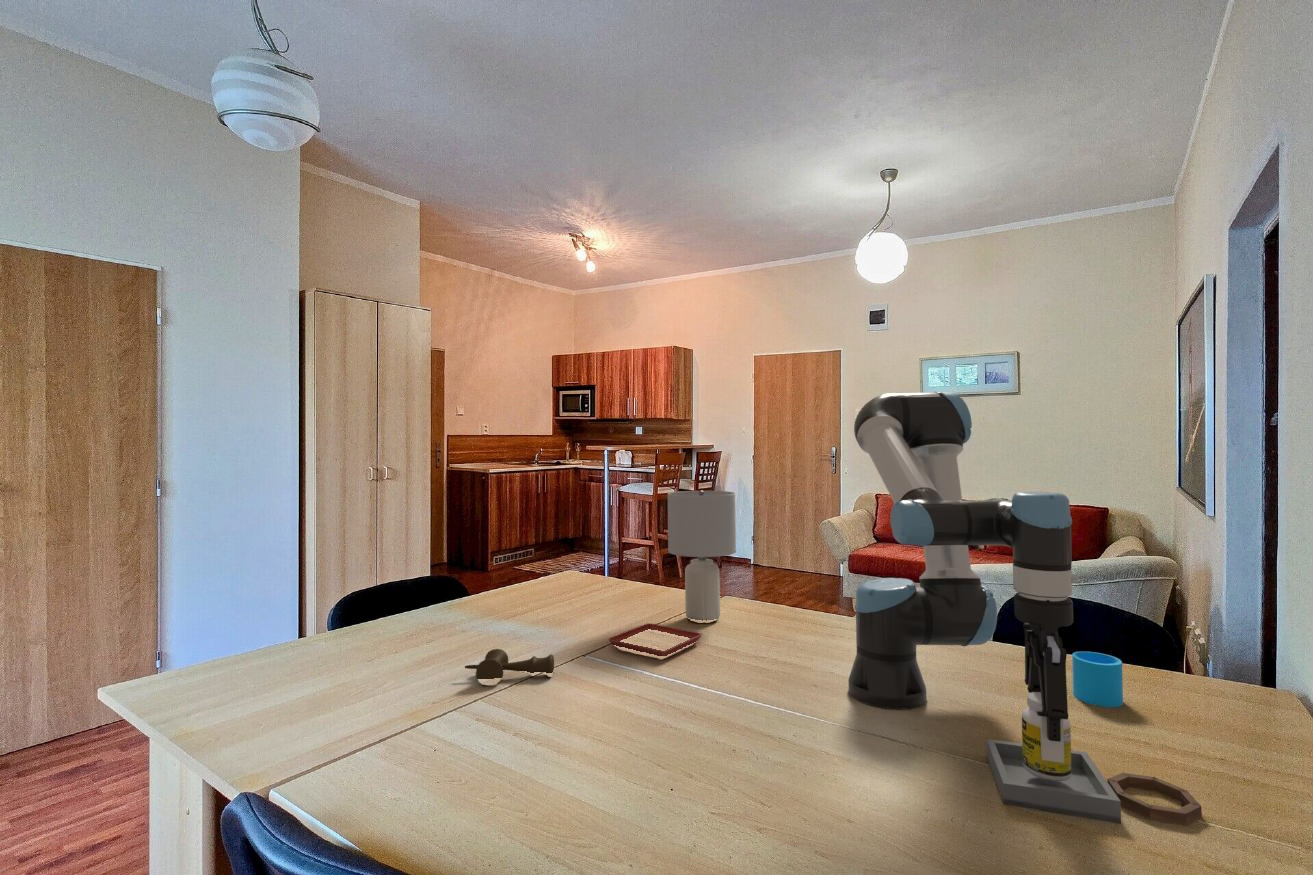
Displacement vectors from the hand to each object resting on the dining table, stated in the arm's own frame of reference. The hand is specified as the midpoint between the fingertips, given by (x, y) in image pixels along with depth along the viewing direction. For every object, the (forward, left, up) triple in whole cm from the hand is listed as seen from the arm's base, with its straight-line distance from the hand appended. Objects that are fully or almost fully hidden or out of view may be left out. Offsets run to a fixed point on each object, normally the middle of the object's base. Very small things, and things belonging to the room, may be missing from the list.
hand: (1046, 748), depth 91 cm
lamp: (-73, +71, -6) cm, 102 cm away
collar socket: (+13, 0, -6) cm, 14 cm away
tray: (0, 0, -6) cm, 6 cm away
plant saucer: (-78, +43, -6) cm, 89 cm away
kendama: (-102, +13, -6) cm, 103 cm away
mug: (+18, +42, -6) cm, 46 cm away
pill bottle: (0, 0, -4) cm, 4 cm away
